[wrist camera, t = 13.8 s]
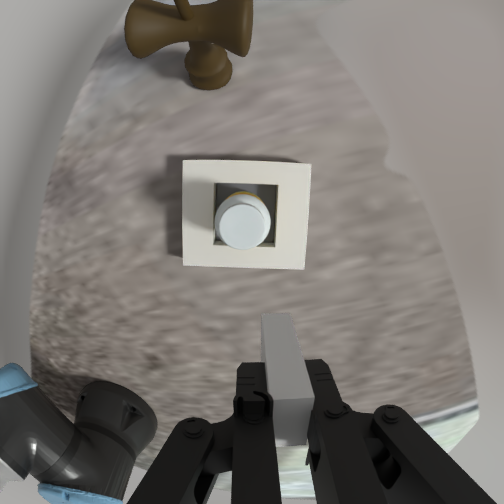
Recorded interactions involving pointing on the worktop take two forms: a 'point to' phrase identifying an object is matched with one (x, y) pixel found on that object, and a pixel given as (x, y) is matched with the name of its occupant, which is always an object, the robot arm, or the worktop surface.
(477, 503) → the robot arm
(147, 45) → the kendama
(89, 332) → the worktop surface
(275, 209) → the socket block
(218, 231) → the supplement bottle
